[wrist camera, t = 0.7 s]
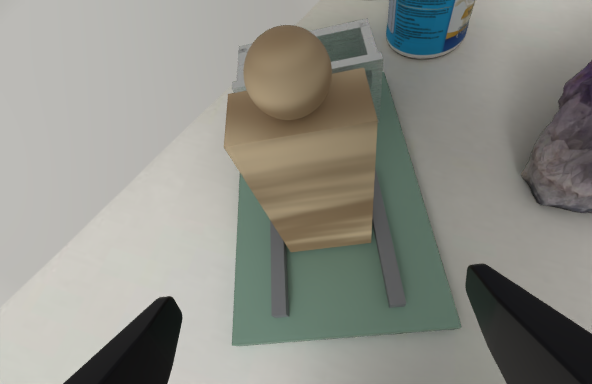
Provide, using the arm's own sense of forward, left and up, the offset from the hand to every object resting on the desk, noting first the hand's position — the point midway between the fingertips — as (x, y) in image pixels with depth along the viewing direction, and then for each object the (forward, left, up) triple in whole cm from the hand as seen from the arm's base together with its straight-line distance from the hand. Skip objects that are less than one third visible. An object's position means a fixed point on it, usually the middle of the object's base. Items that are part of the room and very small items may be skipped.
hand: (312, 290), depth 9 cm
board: (+12, 0, -14) cm, 18 cm away
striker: (+7, 0, -12) cm, 14 cm away
